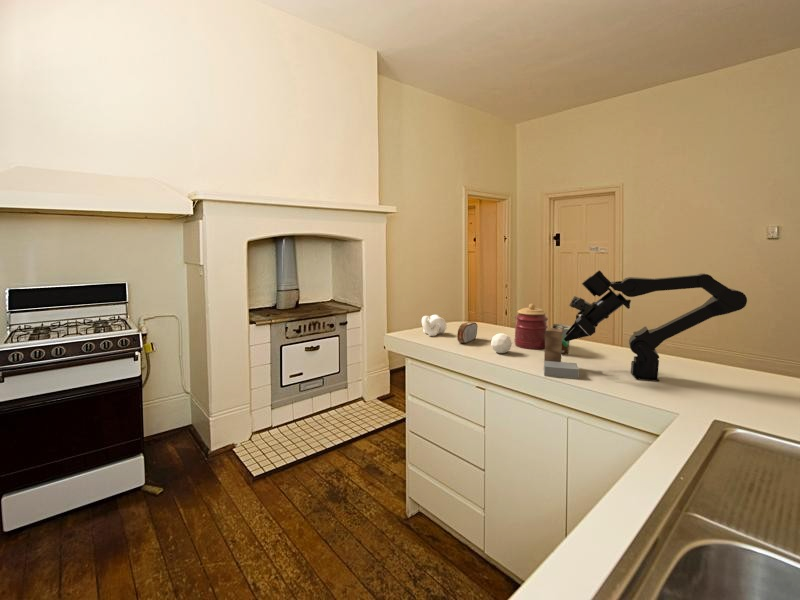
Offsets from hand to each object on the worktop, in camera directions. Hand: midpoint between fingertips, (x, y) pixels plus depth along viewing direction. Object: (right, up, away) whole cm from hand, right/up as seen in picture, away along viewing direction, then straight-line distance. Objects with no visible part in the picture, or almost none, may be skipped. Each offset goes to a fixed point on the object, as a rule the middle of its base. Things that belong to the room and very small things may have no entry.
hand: (565, 337), depth 136 cm
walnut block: (-3, -10, +3) cm, 11 cm away
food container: (+8, -8, +22) cm, 25 cm away
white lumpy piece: (-39, -4, +55) cm, 68 cm away
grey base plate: (-4, -11, -5) cm, 13 cm away
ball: (-16, -8, +22) cm, 28 cm away
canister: (-1, -7, +33) cm, 33 cm away
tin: (-26, -6, +40) cm, 48 cm away
